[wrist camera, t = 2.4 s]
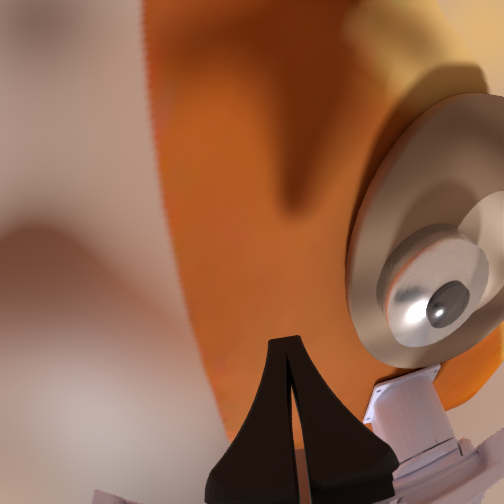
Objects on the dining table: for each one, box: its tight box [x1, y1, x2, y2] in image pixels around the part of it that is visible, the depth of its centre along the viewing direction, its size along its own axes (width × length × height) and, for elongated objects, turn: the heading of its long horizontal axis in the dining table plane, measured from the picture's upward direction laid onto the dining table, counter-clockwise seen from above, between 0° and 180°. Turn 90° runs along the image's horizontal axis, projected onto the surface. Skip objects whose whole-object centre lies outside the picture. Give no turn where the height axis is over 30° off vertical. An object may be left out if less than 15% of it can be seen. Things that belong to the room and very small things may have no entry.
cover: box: [376, 223, 489, 347], centre depth 13 cm, size 7×7×3 cm
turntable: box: [345, 93, 504, 368], centre depth 13 cm, size 22×22×4 cm
